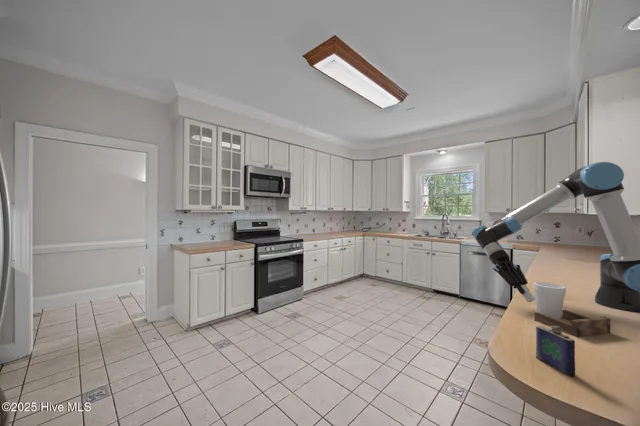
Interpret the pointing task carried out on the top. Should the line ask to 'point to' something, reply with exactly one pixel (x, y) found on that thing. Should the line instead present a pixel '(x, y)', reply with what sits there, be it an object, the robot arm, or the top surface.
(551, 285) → the foam cup
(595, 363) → the top surface
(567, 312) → the corral
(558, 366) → the flask
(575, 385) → the top surface
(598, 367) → the top surface
